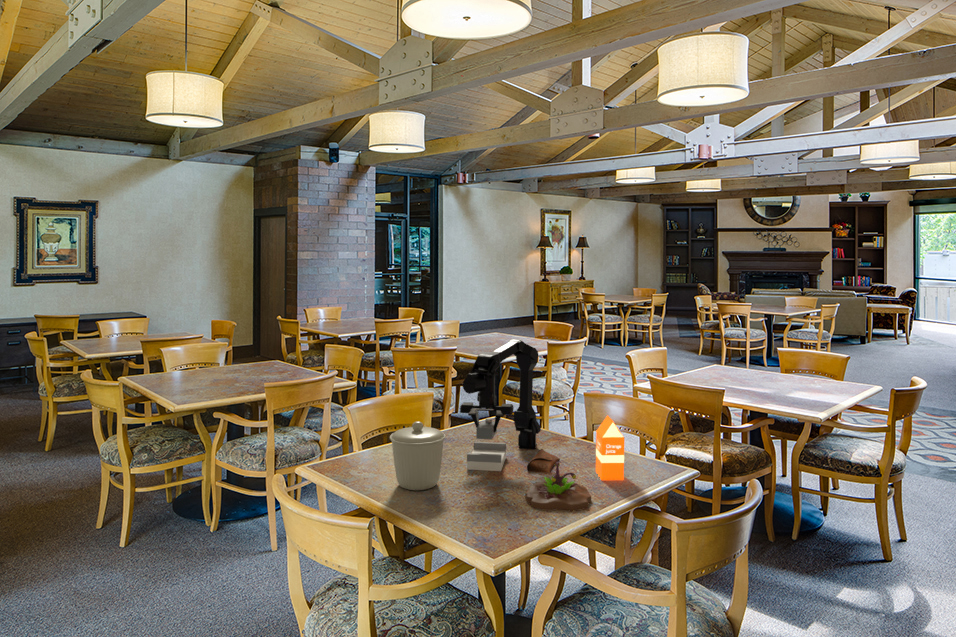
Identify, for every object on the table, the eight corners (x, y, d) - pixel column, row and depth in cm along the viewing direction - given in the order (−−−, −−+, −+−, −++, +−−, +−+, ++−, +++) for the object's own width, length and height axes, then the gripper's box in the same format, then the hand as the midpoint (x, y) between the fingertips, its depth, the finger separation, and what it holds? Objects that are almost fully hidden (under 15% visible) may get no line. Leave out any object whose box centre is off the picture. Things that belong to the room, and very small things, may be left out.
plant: (589, 489, 202) (590, 455, 201) (592, 513, 183) (592, 475, 182) (527, 486, 205) (527, 453, 204) (523, 509, 186) (523, 472, 185)
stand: (506, 457, 235) (506, 442, 234) (500, 471, 219) (501, 455, 219) (474, 455, 237) (474, 441, 236) (466, 469, 221) (466, 454, 220)
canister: (383, 493, 198) (382, 427, 196) (398, 474, 215) (397, 414, 214) (439, 496, 195) (439, 430, 193) (450, 477, 213) (450, 416, 211)
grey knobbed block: (491, 439, 222) (491, 425, 221) (476, 438, 223) (476, 424, 222) (496, 432, 231) (496, 418, 231) (482, 431, 233) (482, 417, 232)
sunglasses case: (550, 473, 216) (541, 456, 217) (533, 481, 219) (524, 464, 219) (560, 458, 233) (551, 442, 234) (544, 466, 236) (535, 450, 236)
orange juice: (617, 471, 219) (618, 415, 217) (624, 480, 210) (625, 421, 208) (595, 471, 219) (595, 415, 217) (600, 480, 210) (601, 421, 208)
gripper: (515, 385, 232) (514, 427, 233) (465, 384, 235) (465, 425, 236) (511, 391, 221) (511, 435, 222) (459, 390, 224) (459, 433, 225)
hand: (486, 431), depth 227 cm, fingers closed on grey knobbed block, 6 cm apart
